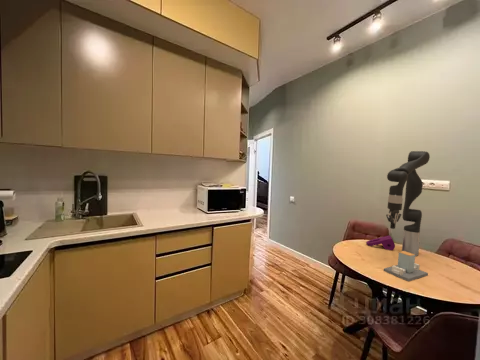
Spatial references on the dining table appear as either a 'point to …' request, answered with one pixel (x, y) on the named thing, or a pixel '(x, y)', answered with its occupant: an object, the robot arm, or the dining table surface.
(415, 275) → the mounting board
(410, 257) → the plate
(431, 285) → the dining table surface
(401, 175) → the robot arm
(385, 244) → the mounting bracket
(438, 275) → the dining table surface
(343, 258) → the dining table surface
